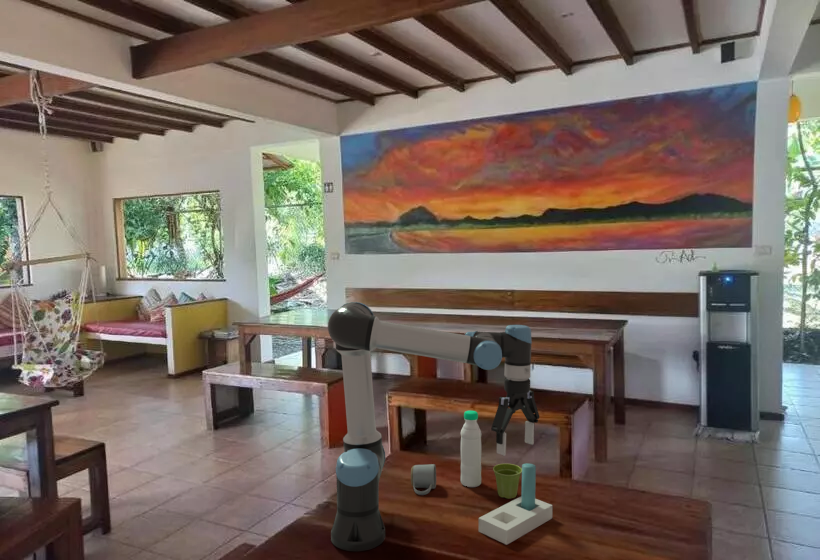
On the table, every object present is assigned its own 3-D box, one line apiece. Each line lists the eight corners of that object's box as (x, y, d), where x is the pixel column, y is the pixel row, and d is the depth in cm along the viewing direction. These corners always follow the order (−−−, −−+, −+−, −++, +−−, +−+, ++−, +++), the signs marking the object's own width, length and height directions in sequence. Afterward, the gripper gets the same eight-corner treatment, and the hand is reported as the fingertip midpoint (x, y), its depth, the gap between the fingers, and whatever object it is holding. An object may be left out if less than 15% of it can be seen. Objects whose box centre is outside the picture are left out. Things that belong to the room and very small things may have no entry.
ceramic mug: (412, 481, 199) (412, 460, 198) (436, 482, 198) (436, 460, 197) (409, 495, 188) (409, 472, 188) (434, 496, 187) (434, 473, 187)
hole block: (478, 531, 164) (478, 517, 164) (524, 506, 179) (524, 494, 179) (506, 544, 157) (506, 530, 157) (552, 518, 172) (552, 505, 172)
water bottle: (484, 482, 198) (484, 410, 196) (475, 489, 192) (475, 416, 190) (466, 477, 202) (466, 407, 200) (456, 485, 196) (456, 412, 194)
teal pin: (518, 514, 172) (519, 465, 171) (526, 510, 175) (527, 462, 174) (529, 519, 169) (530, 469, 168) (537, 515, 172) (538, 466, 171)
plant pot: (527, 498, 185) (527, 472, 185) (502, 503, 182) (502, 476, 181) (512, 486, 194) (512, 461, 193) (487, 491, 190) (487, 466, 190)
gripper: (500, 387, 158) (499, 462, 159) (552, 373, 175) (550, 442, 176) (479, 382, 163) (478, 455, 165) (531, 369, 180) (529, 435, 182)
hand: (515, 448), depth 171 cm, fingers open, 13 cm apart
